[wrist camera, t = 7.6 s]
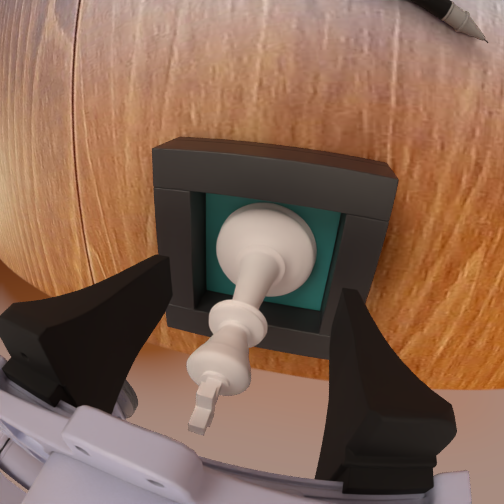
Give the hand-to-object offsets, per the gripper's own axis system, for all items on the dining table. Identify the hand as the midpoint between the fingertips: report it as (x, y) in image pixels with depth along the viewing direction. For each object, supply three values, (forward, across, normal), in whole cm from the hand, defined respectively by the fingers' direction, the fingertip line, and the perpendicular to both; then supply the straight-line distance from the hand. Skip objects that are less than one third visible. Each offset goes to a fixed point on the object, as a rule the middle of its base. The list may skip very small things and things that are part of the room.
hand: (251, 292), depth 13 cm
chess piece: (+4, 0, 0) cm, 4 cm away
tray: (+4, 0, 0) cm, 4 cm away
